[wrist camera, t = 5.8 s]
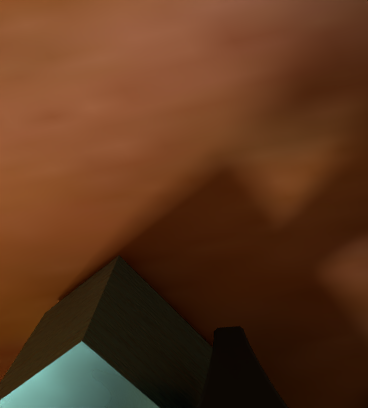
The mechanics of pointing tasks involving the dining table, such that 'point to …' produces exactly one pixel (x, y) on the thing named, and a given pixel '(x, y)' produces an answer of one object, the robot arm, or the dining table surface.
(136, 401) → the dark green rectangular beam
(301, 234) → the dining table surface
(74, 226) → the dining table surface
